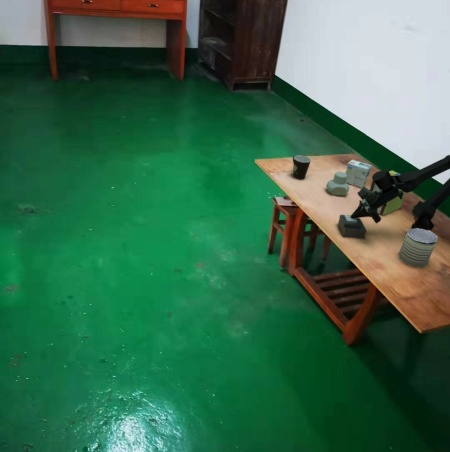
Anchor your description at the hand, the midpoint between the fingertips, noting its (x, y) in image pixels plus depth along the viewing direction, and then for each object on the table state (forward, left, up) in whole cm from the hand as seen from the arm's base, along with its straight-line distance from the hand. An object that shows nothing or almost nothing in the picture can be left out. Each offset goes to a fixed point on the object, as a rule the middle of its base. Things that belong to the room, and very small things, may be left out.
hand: (351, 217), depth 193 cm
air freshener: (+13, -33, -7) cm, 36 cm away
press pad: (0, 0, -3) cm, 3 cm away
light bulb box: (+7, -50, -7) cm, 51 cm away
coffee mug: (+35, -40, -7) cm, 54 cm away
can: (-28, +6, -7) cm, 30 cm away
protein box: (-10, -32, -7) cm, 35 cm away
